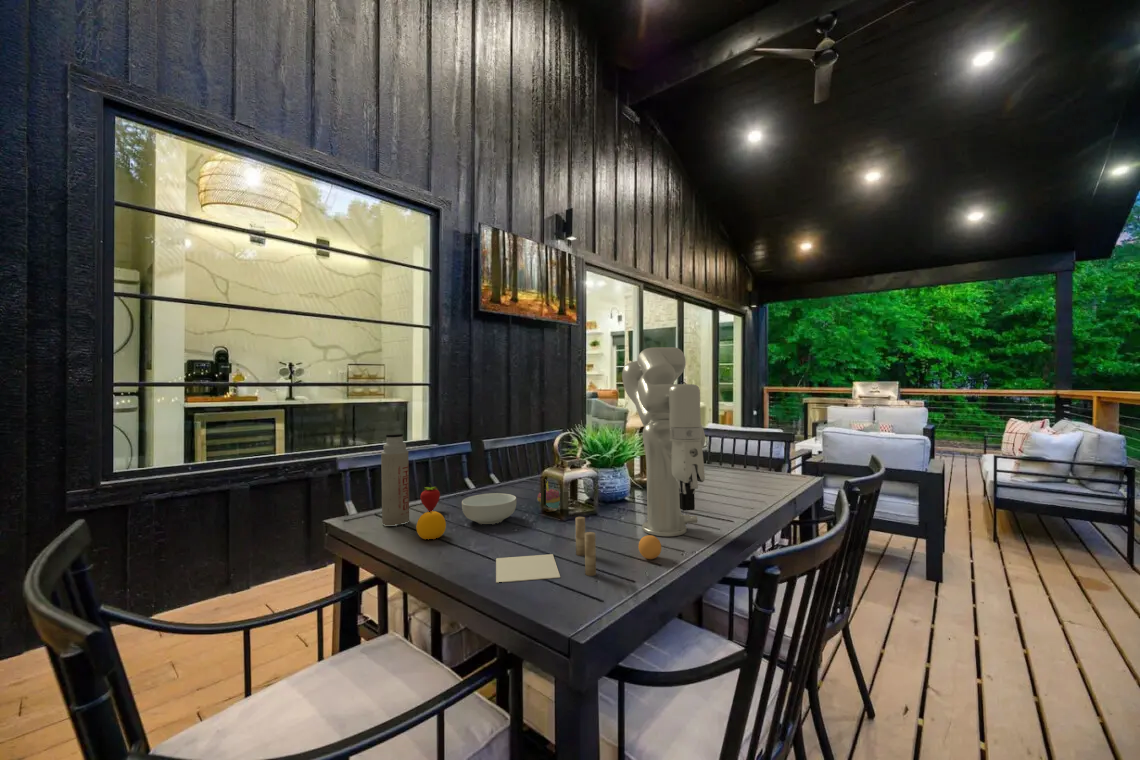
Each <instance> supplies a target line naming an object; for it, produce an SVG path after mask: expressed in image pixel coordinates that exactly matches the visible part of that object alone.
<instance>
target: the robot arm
mask: <svg viewBox="0 0 1140 760" xmlns="http://www.w3.org/2000/svg"><path fill="white" fill-rule="evenodd" d="M685 368H686V356H685V354H684V352H683V350H682V349H680V348H678V347H671V346H670V347H655V346H654V347H647V348H644V349H643V350H642V351H641V352H640V353H639V354H638V356H637V360H634V361H631V362H628V363H626V364H625V365H624V367H623V368H622V373H621V377H622V378H621V379H622V384H623V388H624V391H625V392H626V395H627V396H628V398H630V400H631V401H632V402H633V404H634V405H635V408H636V412H637V413H638V414H637V415H638V416H639V419H640V421H641V424H642V425H643V429H642V441H643V447H644V453H645V463H646V464H645V465H646V501H647V503H646V506H647V507H646V509H647V517H646V518H647V521H645V522H643V523H642V524H641V525H642V526H641V530H642V531H643V532H644V533H646V534H649V535H652V536H655V537H656V536H657V537H678V536H681V535H685V534H686V533H687V531H688V529H687V524H696V523H698V516H697V515H690V514H682V511H685V512H686V511H694V510H696V509H695V505H696V504H695V494H696V490H697V489H699V483H704V481H705V479H706V478H705V476H706V474H705V462H704V453H703V449H704V447H705V444H706V434H705V430H704V428H703V426H702V421H701V391H700V388H699V386H698V385H696V384H692V383H691V384H690V383H689V384H687V383H684V384H683V383H679V384H678V383H675V381H676V380H677V379H678V378H679V377H680V376H681V375H682V374H683V372H684V371H685ZM674 383H675V384H674Z"/></svg>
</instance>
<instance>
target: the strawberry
mask: <svg viewBox="0 0 1140 760" xmlns="http://www.w3.org/2000/svg"><path fill="white" fill-rule="evenodd" d="M419 497H420V498H419V499H420V501H421V504H422V505H423V506H424V507H425V508H426V509H427V512H429V511H432V510H433V511H435V510H434V509H435V508H436V507H437V505H438V503H439V501H440V498H441V493H440V491H439V489H438V487H436V486H432V484H430V487H429V486H426V487H425V486H424V489H423V491H422V492H421V493H420V496H419Z"/></svg>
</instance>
